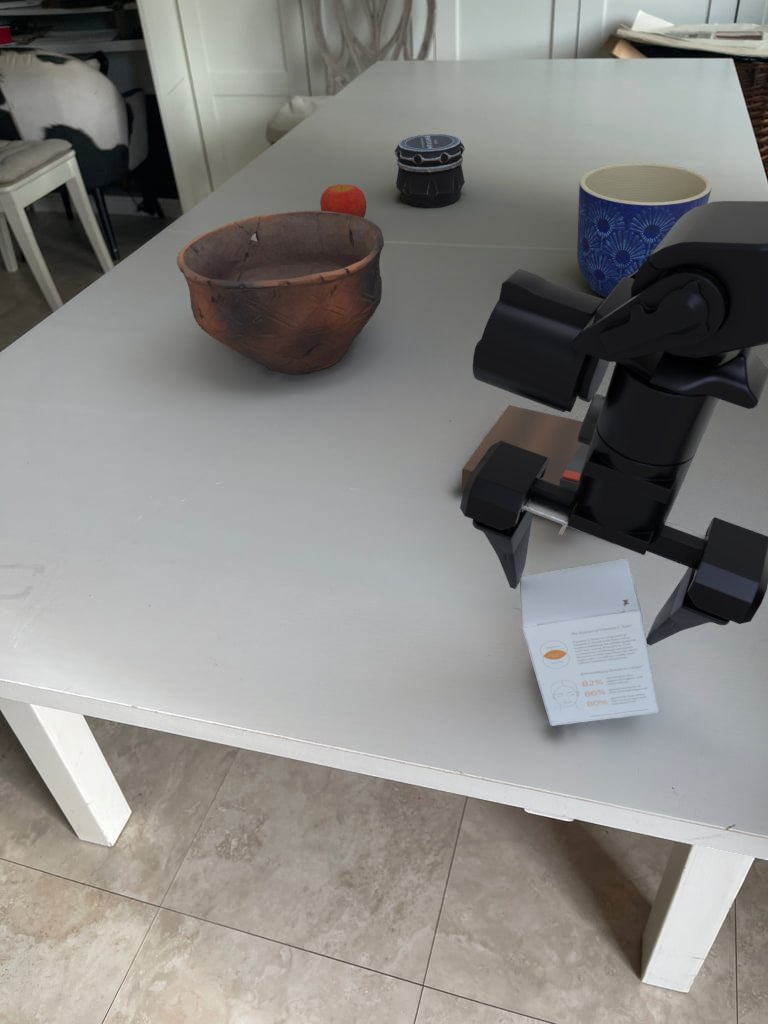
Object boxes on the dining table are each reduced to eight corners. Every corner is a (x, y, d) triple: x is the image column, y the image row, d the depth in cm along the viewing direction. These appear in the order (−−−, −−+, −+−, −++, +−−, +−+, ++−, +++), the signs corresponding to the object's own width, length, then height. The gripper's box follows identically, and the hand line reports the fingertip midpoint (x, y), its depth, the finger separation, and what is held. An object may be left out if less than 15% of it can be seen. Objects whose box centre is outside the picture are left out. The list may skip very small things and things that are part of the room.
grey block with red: (588, 459, 81) (594, 419, 78) (610, 464, 80) (616, 424, 77) (555, 517, 74) (560, 476, 71) (578, 524, 73) (584, 482, 70)
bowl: (272, 299, 120) (257, 196, 111) (420, 329, 111) (418, 219, 101) (163, 377, 104) (134, 264, 94) (326, 420, 94) (312, 299, 85)
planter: (705, 279, 118) (728, 171, 109) (665, 326, 108) (687, 211, 98) (596, 258, 126) (608, 156, 117) (549, 299, 116) (558, 191, 106)
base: (680, 468, 84) (686, 443, 82) (634, 582, 71) (639, 556, 69) (507, 427, 91) (509, 403, 89) (438, 524, 79) (438, 499, 77)
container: (385, 194, 154) (382, 139, 148) (444, 182, 158) (444, 128, 152) (415, 214, 145) (413, 156, 139) (477, 201, 149) (478, 144, 142)
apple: (376, 228, 141) (374, 182, 136) (344, 242, 137) (340, 195, 132) (345, 218, 145) (342, 173, 140) (313, 232, 141) (309, 186, 136)
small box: (647, 659, 62) (630, 555, 57) (660, 715, 58) (643, 608, 52) (544, 672, 64) (518, 573, 59) (548, 728, 60) (520, 626, 54)
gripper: (828, 417, 49) (733, 589, 59) (538, 327, 54) (498, 499, 65) (810, 526, 41) (705, 700, 52) (476, 408, 47) (442, 588, 57)
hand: (580, 611), depth 57 cm, fingers open, 9 cm apart
